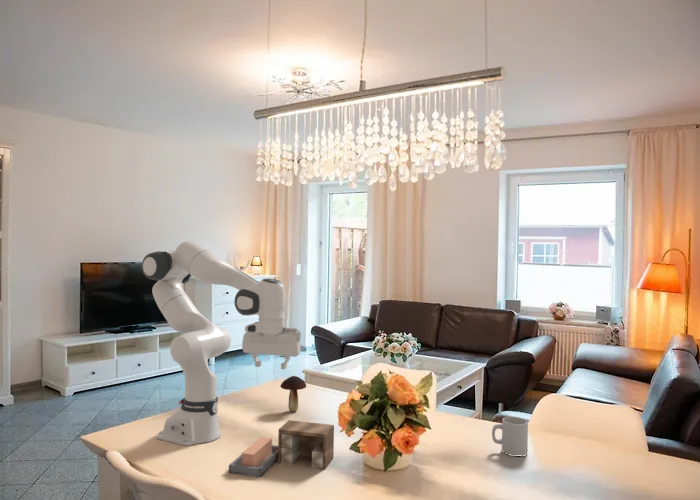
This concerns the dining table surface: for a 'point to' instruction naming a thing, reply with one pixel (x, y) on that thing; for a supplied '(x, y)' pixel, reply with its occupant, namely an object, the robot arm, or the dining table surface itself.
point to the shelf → (306, 443)
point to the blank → (257, 452)
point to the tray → (254, 471)
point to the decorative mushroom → (293, 390)
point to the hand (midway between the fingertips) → (271, 367)
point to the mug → (513, 435)
